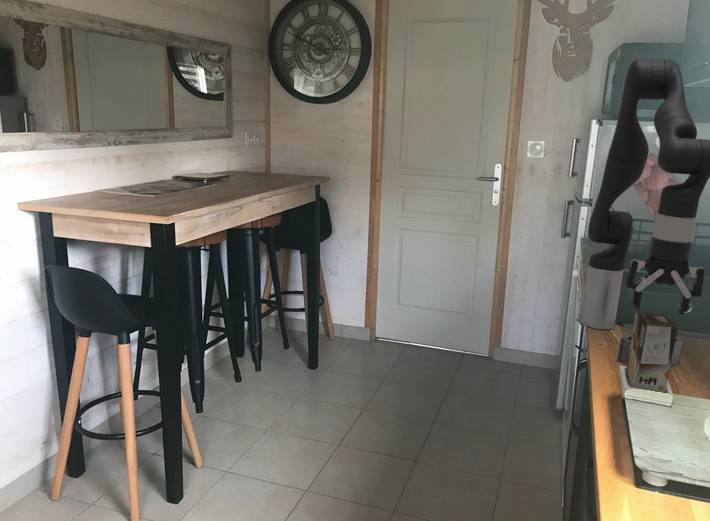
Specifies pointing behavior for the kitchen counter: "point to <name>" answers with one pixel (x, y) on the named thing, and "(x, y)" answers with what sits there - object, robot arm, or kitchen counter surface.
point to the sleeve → (625, 350)
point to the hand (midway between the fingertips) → (658, 310)
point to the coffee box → (651, 352)
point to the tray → (626, 386)
